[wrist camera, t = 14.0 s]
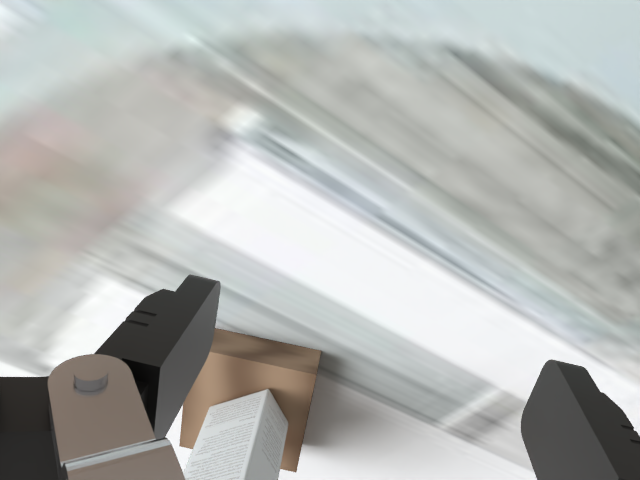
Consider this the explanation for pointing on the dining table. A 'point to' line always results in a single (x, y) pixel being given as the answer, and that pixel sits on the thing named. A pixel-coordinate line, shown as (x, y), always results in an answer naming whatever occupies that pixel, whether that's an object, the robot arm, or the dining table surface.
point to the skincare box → (240, 440)
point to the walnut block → (254, 384)
